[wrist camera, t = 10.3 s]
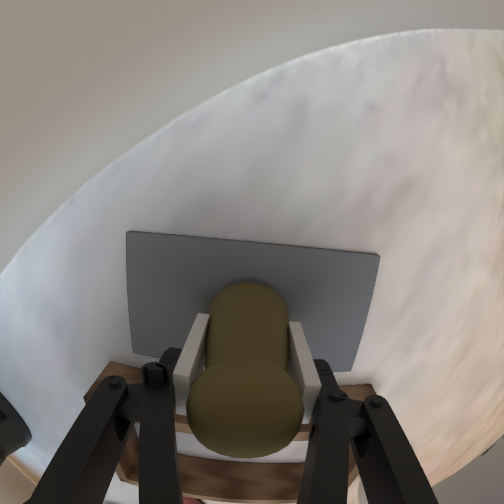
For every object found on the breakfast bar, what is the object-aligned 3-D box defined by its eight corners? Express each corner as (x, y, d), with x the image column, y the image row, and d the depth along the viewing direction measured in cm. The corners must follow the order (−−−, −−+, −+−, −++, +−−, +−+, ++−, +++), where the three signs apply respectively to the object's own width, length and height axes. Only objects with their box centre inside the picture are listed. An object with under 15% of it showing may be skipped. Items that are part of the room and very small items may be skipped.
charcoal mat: (135, 349, 23) (133, 352, 22) (129, 230, 20) (126, 232, 20) (348, 367, 23) (350, 371, 22) (377, 254, 21) (380, 256, 20)
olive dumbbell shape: (231, 266, 19) (207, 359, 8) (305, 307, 19) (350, 416, 9) (193, 332, 20) (150, 444, 9) (261, 366, 21) (267, 483, 10)
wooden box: (133, 448, 26) (120, 480, 21) (109, 361, 23) (83, 397, 17) (331, 464, 27) (339, 497, 21) (370, 384, 24) (392, 422, 18)
